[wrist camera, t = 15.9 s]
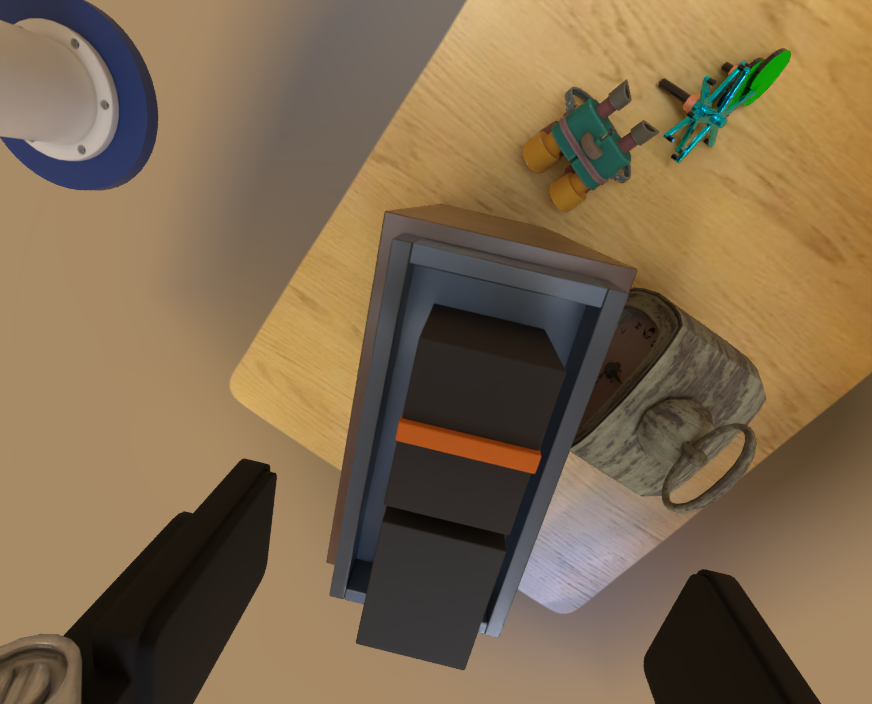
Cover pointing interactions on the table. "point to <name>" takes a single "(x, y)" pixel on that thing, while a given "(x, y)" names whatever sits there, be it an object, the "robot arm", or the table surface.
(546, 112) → the table surface
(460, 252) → the brown and grey box
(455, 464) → the black banded block
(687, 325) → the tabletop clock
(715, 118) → the stick construction toy
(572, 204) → the binoculars
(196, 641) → the robot arm
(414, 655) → the dark grey block
